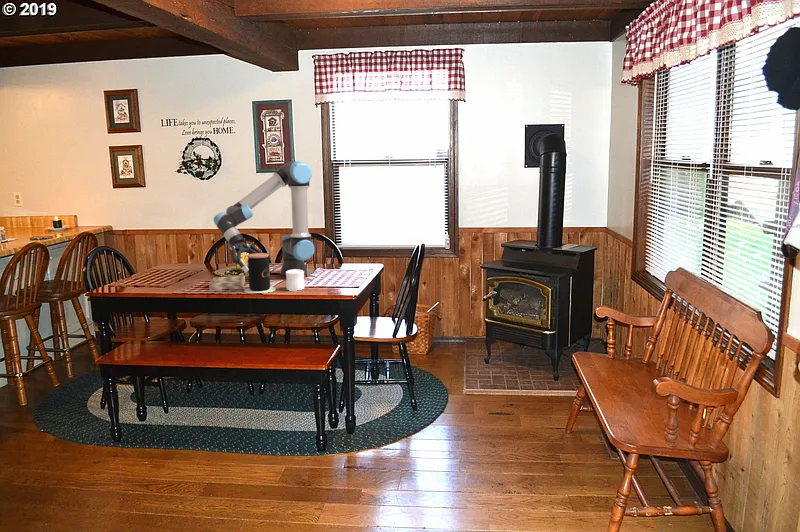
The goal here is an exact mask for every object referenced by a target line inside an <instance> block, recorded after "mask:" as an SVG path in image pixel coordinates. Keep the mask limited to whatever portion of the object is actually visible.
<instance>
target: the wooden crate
mask: <svg viewBox="0 0 800 532" xmlns="http://www.w3.org/2000/svg"><path fill="white" fill-rule="evenodd" d="M245 284H246V278H245V276H221V277H220V276H217V277H213V278H212V279H211V280H210V282H209V283H208V287H209V291H221V290H222V289H229V290H242V289H243V288H242V287H244V285H245ZM222 291H223V290H222Z"/></svg>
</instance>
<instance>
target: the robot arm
mask: <svg viewBox="0 0 800 532" xmlns="http://www.w3.org/2000/svg"><path fill="white" fill-rule="evenodd" d="M312 175H313V170H312V168H311V166H310V165H309V164H308V163H307V162H303V161H302V160H301V161H296V160H294V161H293V160H291V161H288V162H286V163H284V164H283V165H282V166H281V167H280V168H278V169H276V171H274V172H273V175H272V176H271V177H270V178H268V179H266V180H265V181H263V183H262V184H261V183H260V185H259V186H257V187H256V188H255V189H254V190H252V191H251V192H250V193H248V194H247V195H246V196H244V197H243V198H241V199H240V200H238V201H237V202H236V203H235V204H233V205H230V206H227V208H226V210H225V212H223V211H221V212H219V213H217V214H216V215H215V216H214V217H213V222H214V224H215V225H216V227H217V229H218V230H219V231H220V233H221V234H222V236H223V237H224V238H225V240H226V241H227V242H228V244H229V245H230V246H229V248H228V249H229V251H230V255H231V260H232V262H233V263H234V264H236V265H239V267H240V268H241V270H242V271H244V273H245V274H247V273H248V270H249V269H248V265H247V264H246V263H245V262H244V260H243V259H241V257H242V254H243V253H244V254H245V253H246V254H248V255H249V254H255V253H263V251H261V250H260V249H258V248H257V247H256V246H255V245H253V243H251V241H248V243H246V242H245V239H244V237H243V235H242V233H240V231H239V230H238V229H237V226H239V225H240V224H241V225H242V223H244V222H246V221H248V220H250V219H251V218H253V217H254V213H253V211H252V209H254V208H255V207H257V206H258V205H259V204H260V203H262V202H263V201H265V200H266V199H267V198H269V197H270V196H271V195H272V194H274V193H275V192H276V191H277V190H279V189H280V188H285V187H288V188H289V189H290V196H291V197H290V198H291V221H292V233H291V234H289V235H283V236H282V238H281V243H282V244H281V245H282V246H281V247H282V265H281V267H280V276H283V277H286V271H288V270H294V269H299V270H303V271H304V276H305V275H307V274H308V269H307V267H306V264H305V261H308V260H310V259H311V257H313V255H315V254H314V253H315V246H314V243H313V242H312V234H311V233H310V232H309V214H308V189H309V187H310V180H312V177H313V176H312Z"/></svg>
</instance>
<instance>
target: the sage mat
mask: <svg viewBox="0 0 800 532" xmlns="http://www.w3.org/2000/svg"><path fill="white" fill-rule="evenodd" d="M276 290H277V288H276V287H275V286H270V288H269V290H265V291H252V290H251V289H250V288H249V287H247V288H244V289H243V292H244V293H245V292H246V293H245V294H249V293H264V294H269V293H268V292H270V293H273V291H274V292H276Z"/></svg>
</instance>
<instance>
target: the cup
mask: <svg viewBox="0 0 800 532" xmlns="http://www.w3.org/2000/svg"><path fill="white" fill-rule="evenodd" d="M285 277H286V279H285V283H286V285H285V287H286V291H287V290H289V291H288V292H298V291H297V290H302V289H304V290H305V275H304V271H303V270H299V269H294V270H288V271H286V276H285ZM302 291H303V290H302Z"/></svg>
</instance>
